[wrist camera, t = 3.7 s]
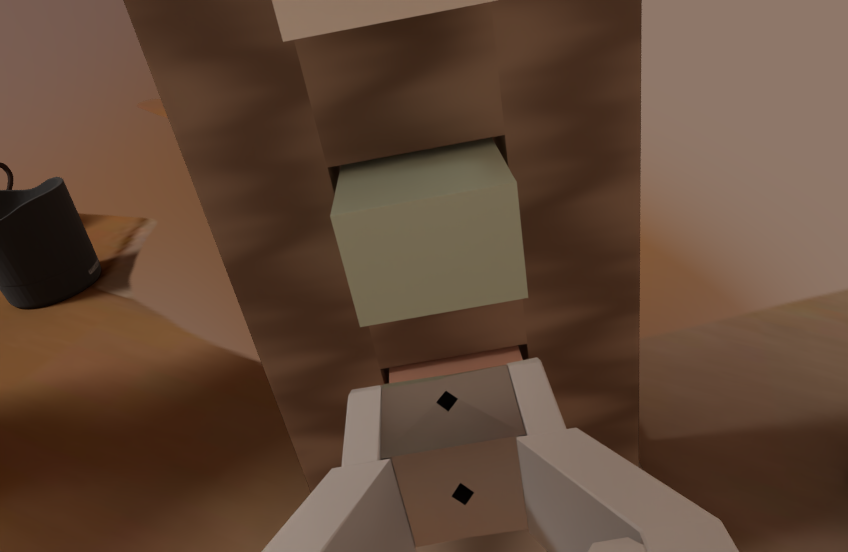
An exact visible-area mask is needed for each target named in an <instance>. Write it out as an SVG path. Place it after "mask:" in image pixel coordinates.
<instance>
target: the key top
mask: <svg viewBox="0 0 848 552" xmlns="http://www.w3.org/2000/svg"><path fill="white" fill-rule="evenodd" d="M492 1H498V0H272V3H273V7H274V10H275V14H276V18H277V21H278V25H279V29H280V33H281V36H282V40H283V42H285V41H290V40H295V39H300V38H306V37H311V36H316V35H321V34H326V33H331V32H337V31H342V30H347V29H352V28H357V27H363V26H368V25H373V24H378V23H383V22H389V21H394V20H399V19H404V18H409V17H415V16H420V15H425V14H430V13H435V12H440V11H446V10H451V9H456V8H461V7H466V6H472V5H477V4H482V3H487V2H492Z"/></svg>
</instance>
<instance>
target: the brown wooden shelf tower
mask: <svg viewBox="0 0 848 552" xmlns="http://www.w3.org/2000/svg"><path fill="white" fill-rule="evenodd" d="M641 1H642V0H498V1H492V2H487V3H482V4H477V5H472V6H466V7H461V8H456V9H451V10H446V11H440V12H435V13H430V14H425V15H420V16H415V17H409V18H404V19H399V20H394V21H389V22H383V23H378V24H373V25H368V26H363V27H357V28H352V29H347V30H342V31H337V32H331V33H326V34H321V35H316V36H311V37H306V38H300V39H295V40H290V41H285V42H283V40H282V36H281V33H280V29H279V25H278V21H277V18H276V14H275V10H274V7H273V3H272V0H124V3H125V5H126V8H127V11H128V14H129V16H130V19H131V21H132V24H133V27H134V29H135V32H136V35H137V37H138V40H139V42H140V45H141V48H142V50H143V53H144V56H145V58H146V61H147V64H148V66H149V69H150V71H151V74H152V76H153V79H154V82H155V85H156V87H157V90H158V92H159V95H160V98H161V100H162V103H163V106H164V108H165V111H166V113H167V116H168V119H169V121H170V124H171V126H172V129H173V132H174V134H175V137H176V140H177V142H178V145H179V147H180V150H181V153H182V155H183V158H184V161H185V163H186V165H187V168H188V171H189V174H190V176H191V179H192V182H193V184H194V187H195V189H196V192H197V195H198V197H199V200H200V202H201V205H202V207H203V210H204V213H205V216H206V218H207V221H208V224H209V226H210V228H211V231H212V234H213V237H214V239H215V242H216V244H217V247H218V249H219V252H220V255H221V257H222V260H223V263H224V266H225V268H226V271H227V273H228V276H229V278H230V281H231V284H232V286H233V289H234V292H235V294H236V297H237V299H238V302H239V305H240V307H241V310H242V313H243V315H244V318H245V320H246V323H247V326H248V328H249V331H250V333H251V336H252V339H253V342H254V344H255V347H256V349H257V352H258V355H259V357H260V360H261V363H262V365H263V368H264V370H265V373H266V376H267V378H268V381H269V384H270V386H271V389H272V391H273V394H274V397H275V399H276V402H277V405H278V407H279V410H280V412H281V415H282V418H283V420H284V423H285V426H286V428H287V431H288V433H289V436H290V439H291V441H292V444H293V446H294V449H295V452H296V454H297V457H298V460H299V462H300V465H301V467H302V470H303V473H304V475H305V478H306V481H307V483H308V486H309V488H310V491H311V492H312V491H313V490H314V489H315V488H316V487H317V485H318V484H319V483H320V482H321V481H322V479H323V478H324V477H325V476H326V475H327V474H328V472H329V471H330V470H331V469H332V468H337V467H341V465H342V455H343V444H344V434H345V424H346V414H347V403H348V396H349V394H350V392H351V390H353V389H359V388H365V387H371V386H378V385H382V386H383V384H389V367H395V366H400V365H406V364H412V363H418V362H424V361H429V360H435V359H441V358H447V357H453V356H459V355H464V354H470V353H476V352H482V351H488V350H493V349H499V348H505V347H511V346H517V345H518V347H519V350H520V353H521V356H522V359H523V360H526V359H531V358H536V357H537V358H538V359H540V360H541V362H542V365H543V368H544V370H545V373H546V376H547V378H548V381H549V384H550V386H551V389H552V392H553V394H554V397H555V400H556V402H557V405H558V408H559V410H560V413H561V416H562V418H563V421H564V424H565V426H566V429H570V428H578V429H580V430H581V431H583V432H584V433H586V434H587V435H589V436H590V437H592V438H594V439H595V440H597V441H598V442H600V443H601V444H603V445H604V446H606V447H608V448H609V449H611V450H612V451H614V452H615V453H617V454H618V455H620V456H622V457H623V458H625V459H626V460H628V461H629V462H631V463H632V464H634V465H636V466H637V467H639V468H640V469H642V470H643V468H642V466H641V464H640V462H639V307H640V302H639V301H640V300H639V298H640V297H639V296H640V153H641V152H640V151H641V148H640V147H641ZM490 137H492V139H493V141H494V142H495V144H496V146H497V148H498V150H499V151H500V153H501V155H502V157H503V159H504V160H505V162H506V164H507V166H508V167H509V169H510V171H511V173H512V175H513V176H514V178H515V180H516V182H517V190H518V200H519V210H520V220H521V230H522V240H523V250H524V260H525V270H526V280H527V290H528V298H524V299H519V300H513V301H507V302H501V303H496V304H490V305H484V306H479V307H473V308H467V309H461V310H456V311H450V312H444V313H438V314H433V315H427V316H421V317H416V318H410V319H404V320H398V321H393V322H387V323H381V324H376V325H370V326H364V327H360V325H359V321H358V318H357V314H356V310H355V306H354V303H353V299H352V295H351V292H350V288H349V284H348V281H347V277H346V273H345V269H344V266H343V262H342V258H341V255H340V251H339V247H338V244H337V240H336V236H335V232H334V229H333V225H332V221H331V218H330V214H331V209H332V205H333V200H334V196H335V191H336V186H337V182H338V177H339V172H340V168H341V165H344V164H349V163H355V162H360V161H366V160H371V159H376V158H382V157H387V156H393V155H398V154H404V153H409V152H414V151H420V150H425V149H431V148H436V147H441V146H447V145H452V144H458V143H463V142H468V141H474V140H479V139H485V138H490ZM643 471H644V470H643ZM471 536H472V535H471ZM415 549H416V552H548V551H547V550H546V549H545V548H544V547H543V546H542V545H541V544H540V543H539V542H538V541H537V540H536V538H535V537H534V536H533V535H532V534H531V533H530V532H529V529H527V530H519V531H512V532H504V533H496V534H489V535H481V536H474V537H468V538H463V539H457V540H452V541H447V542H442V543H436V544H431V545H426V546H421V547H415Z"/></svg>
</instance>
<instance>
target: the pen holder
mask: <svg viewBox="0 0 848 552" xmlns="http://www.w3.org/2000/svg"><path fill="white" fill-rule="evenodd" d="M100 272H101V266H100V263H99V260H98V258H97V256H96V253H95V251H94V249H93V246H92V244H91V241H90V239H89V237H88V235H87V232H86V230H85V228H84V226H83V223H82V221H81V219H80V217H79V214H78V212H77V210H76V208H75V206H74V204H73V201H72V199H71V197H70V194H69V192H68V190H67V188H66V185H65V183H64V181H63V179H62V178H60V177H54V178H51V179H48V180H46V181H45V182H43V183H42V184H41V185H39V186H37V187H35V188H32V189H28V190H0V290H1V292H2V293H3V295H4V296H5V297H6V299H7V300H8V302H9V303H10V304H11V305H13V306H15V307H18V308H21V309H31V308H38V307H43V306H47V305H51V304H54V303H57V302H60V301H62V300H65V299H67V298H69V297H71V296H74V295H76V294H77V293H79V292H81V291H83V290H85V289H86V288H88V287H89V286H90V285H92V284H93V283H94V282H95V281H96V280H97V279H98V277H99V276H100Z"/></svg>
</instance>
